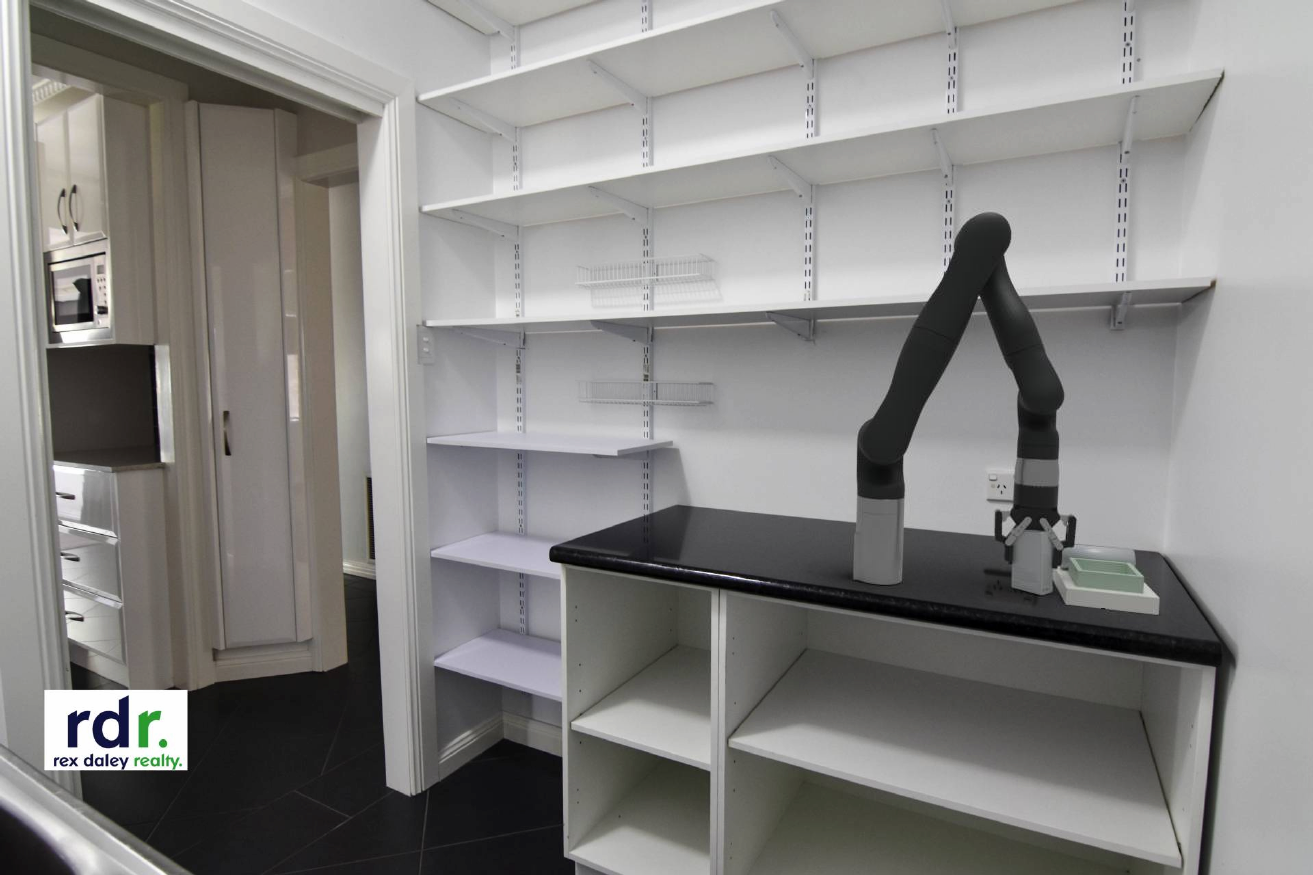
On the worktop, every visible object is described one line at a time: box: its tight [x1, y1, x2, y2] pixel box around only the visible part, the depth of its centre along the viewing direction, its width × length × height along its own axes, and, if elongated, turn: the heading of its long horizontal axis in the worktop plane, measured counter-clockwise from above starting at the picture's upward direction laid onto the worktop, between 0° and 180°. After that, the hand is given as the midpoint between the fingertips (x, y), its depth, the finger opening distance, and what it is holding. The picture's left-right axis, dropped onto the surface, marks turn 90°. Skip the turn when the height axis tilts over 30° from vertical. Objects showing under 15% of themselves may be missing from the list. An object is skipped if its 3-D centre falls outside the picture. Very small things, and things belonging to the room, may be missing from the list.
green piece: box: [1068, 557, 1145, 593], centre depth 127 cm, size 10×10×3 cm
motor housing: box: [1053, 544, 1161, 616], centre depth 129 cm, size 14×18×8 cm
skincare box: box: [1011, 527, 1054, 596], centre depth 132 cm, size 6×4×12 cm
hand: (1032, 565), depth 132 cm, fingers closed on skincare box, 7 cm apart
